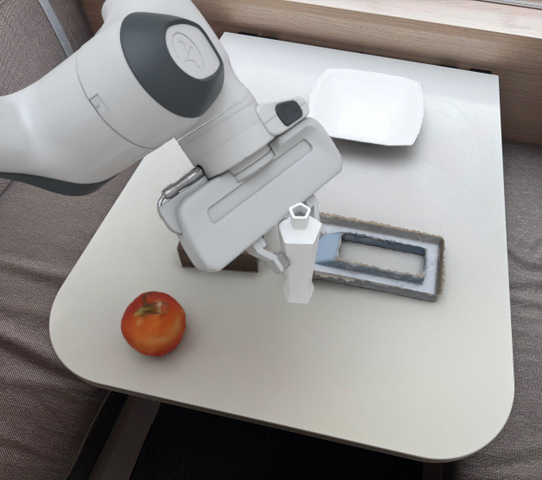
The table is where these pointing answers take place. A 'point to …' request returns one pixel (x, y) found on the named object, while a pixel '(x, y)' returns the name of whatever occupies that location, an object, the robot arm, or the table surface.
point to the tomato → (153, 323)
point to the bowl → (368, 106)
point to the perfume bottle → (299, 252)
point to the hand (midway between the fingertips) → (301, 253)
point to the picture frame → (375, 277)
